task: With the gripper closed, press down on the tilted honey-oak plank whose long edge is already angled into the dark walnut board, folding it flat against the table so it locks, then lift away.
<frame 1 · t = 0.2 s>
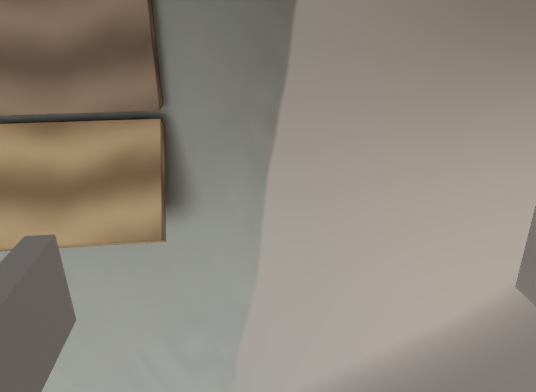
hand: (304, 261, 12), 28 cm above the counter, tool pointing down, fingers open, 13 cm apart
oak plank: (11, 186, 34), point 4 cm above the counter, hinge at 35.0°
walnut board: (4, 52, 34), on the counter
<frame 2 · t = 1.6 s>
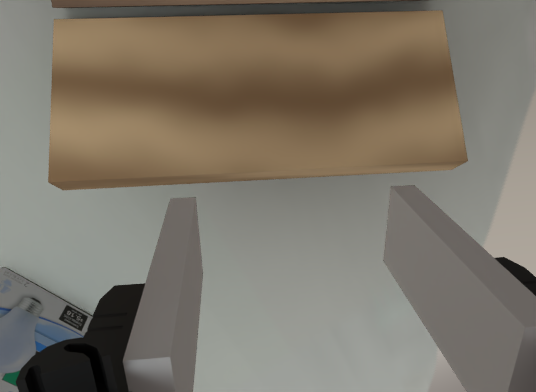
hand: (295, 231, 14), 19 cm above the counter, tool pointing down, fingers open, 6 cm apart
oak plank: (259, 97, 26), point 4 cm above the counter, hinge at 35.0°
light bulb box: (40, 320, 37), on the counter
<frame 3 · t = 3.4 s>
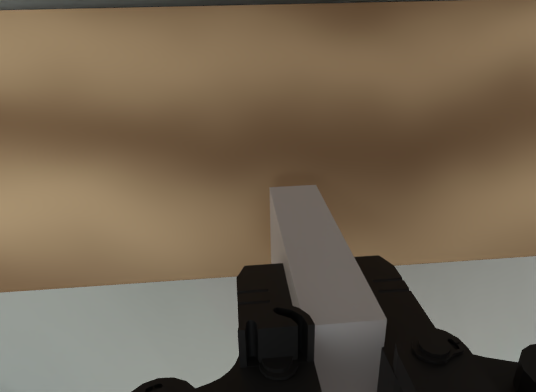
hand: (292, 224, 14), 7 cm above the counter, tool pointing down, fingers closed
oak plank: (280, 139, 16), point 4 cm above the counter, hinge at 32.3°, touching gripper
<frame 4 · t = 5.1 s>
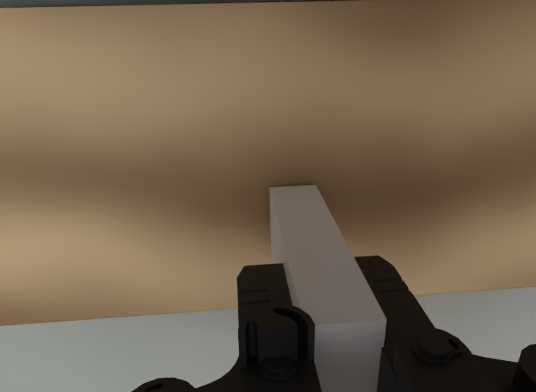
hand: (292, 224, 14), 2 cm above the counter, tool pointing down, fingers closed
oak plank: (291, 164, 14), point 1 cm above the counter, hinge at 1.2°, touching gripper
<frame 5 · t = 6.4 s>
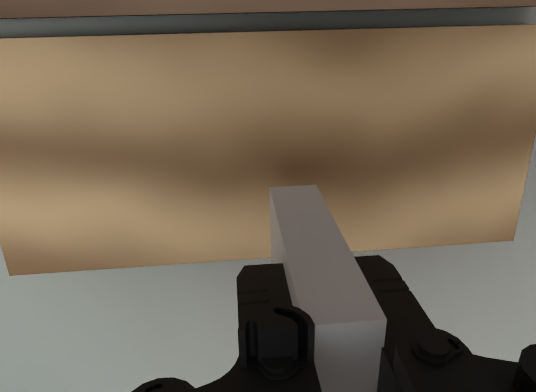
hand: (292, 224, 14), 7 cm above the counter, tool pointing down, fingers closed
oak plank: (269, 149, 19), point 1 cm above the counter, hinge at 1.1°
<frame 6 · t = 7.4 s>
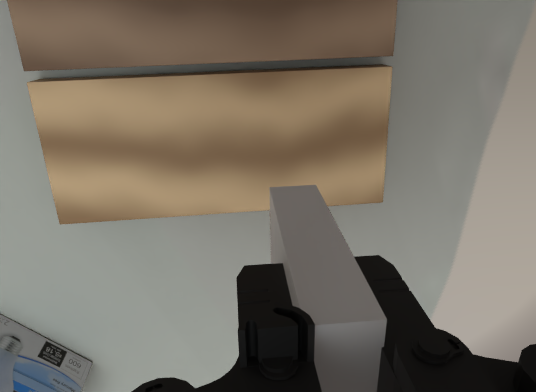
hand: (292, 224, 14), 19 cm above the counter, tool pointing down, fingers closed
oak plank: (221, 144, 31), point 1 cm above the counter, hinge at 1.1°
light bulb box: (21, 356, 38), on the counter
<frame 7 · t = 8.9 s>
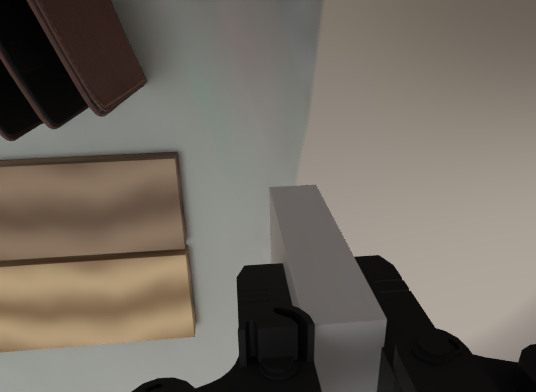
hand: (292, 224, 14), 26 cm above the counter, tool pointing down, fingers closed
oak plank: (72, 300, 44), point 1 cm above the counter, hinge at 1.1°
walnut board: (54, 204, 41), on the counter
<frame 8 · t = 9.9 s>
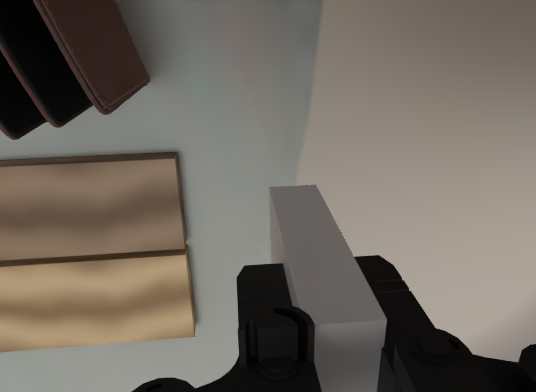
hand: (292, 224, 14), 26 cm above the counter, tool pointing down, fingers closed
oak plank: (72, 300, 44), point 1 cm above the counter, hinge at 1.1°
walnut board: (54, 204, 41), on the counter
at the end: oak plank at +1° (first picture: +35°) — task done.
